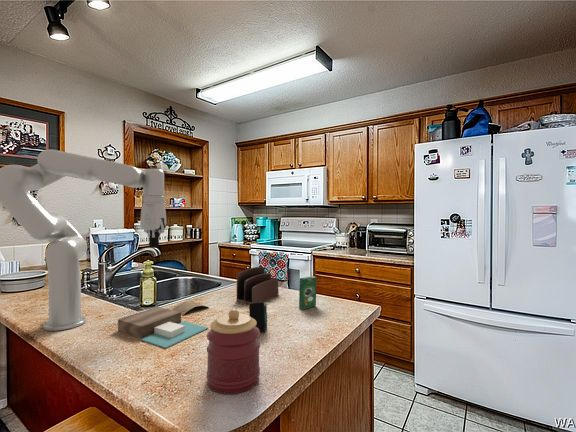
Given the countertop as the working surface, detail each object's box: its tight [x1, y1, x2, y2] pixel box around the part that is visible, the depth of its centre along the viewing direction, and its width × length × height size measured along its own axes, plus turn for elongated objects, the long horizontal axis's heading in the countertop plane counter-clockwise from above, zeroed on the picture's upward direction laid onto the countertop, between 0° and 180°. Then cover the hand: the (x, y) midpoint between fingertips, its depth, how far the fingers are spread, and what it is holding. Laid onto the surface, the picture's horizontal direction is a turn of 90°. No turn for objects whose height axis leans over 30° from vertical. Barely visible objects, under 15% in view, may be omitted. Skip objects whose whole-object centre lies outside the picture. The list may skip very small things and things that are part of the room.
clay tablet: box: [171, 301, 210, 317], centre depth 129 cm, size 14×10×3 cm
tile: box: [154, 322, 185, 338], centre depth 104 cm, size 8×6×2 cm
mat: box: [139, 320, 209, 350], centre depth 103 cm, size 12×18×1 cm, turn 151°
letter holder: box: [236, 266, 279, 305], centre depth 146 cm, size 10×20×14 cm, turn 146°
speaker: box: [248, 301, 268, 334], centre depth 108 cm, size 8×6×10 cm
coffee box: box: [298, 276, 317, 310], centre depth 132 cm, size 8×3×13 cm, turn 129°
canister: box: [206, 308, 261, 395], centre depth 76 cm, size 13×13×18 cm
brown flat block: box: [117, 306, 182, 339], centre depth 110 cm, size 13×16×4 cm
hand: (154, 247), depth 120 cm, fingers closed
